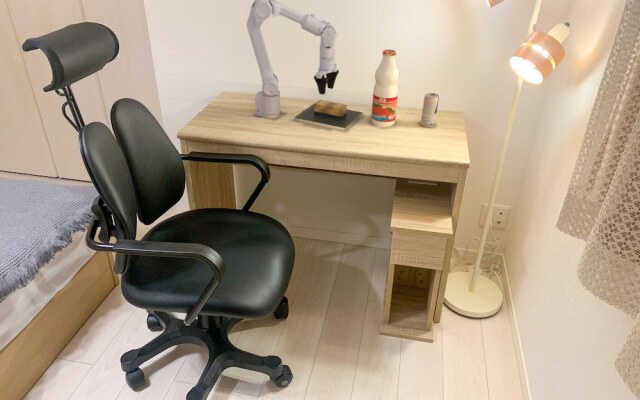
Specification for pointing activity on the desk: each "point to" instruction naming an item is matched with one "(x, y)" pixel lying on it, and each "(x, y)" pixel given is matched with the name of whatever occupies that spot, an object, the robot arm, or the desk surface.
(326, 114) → the eraser
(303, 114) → the slate board
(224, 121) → the desk surface
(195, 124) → the desk surface
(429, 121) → the energy drink
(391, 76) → the strawberry milk bottle
